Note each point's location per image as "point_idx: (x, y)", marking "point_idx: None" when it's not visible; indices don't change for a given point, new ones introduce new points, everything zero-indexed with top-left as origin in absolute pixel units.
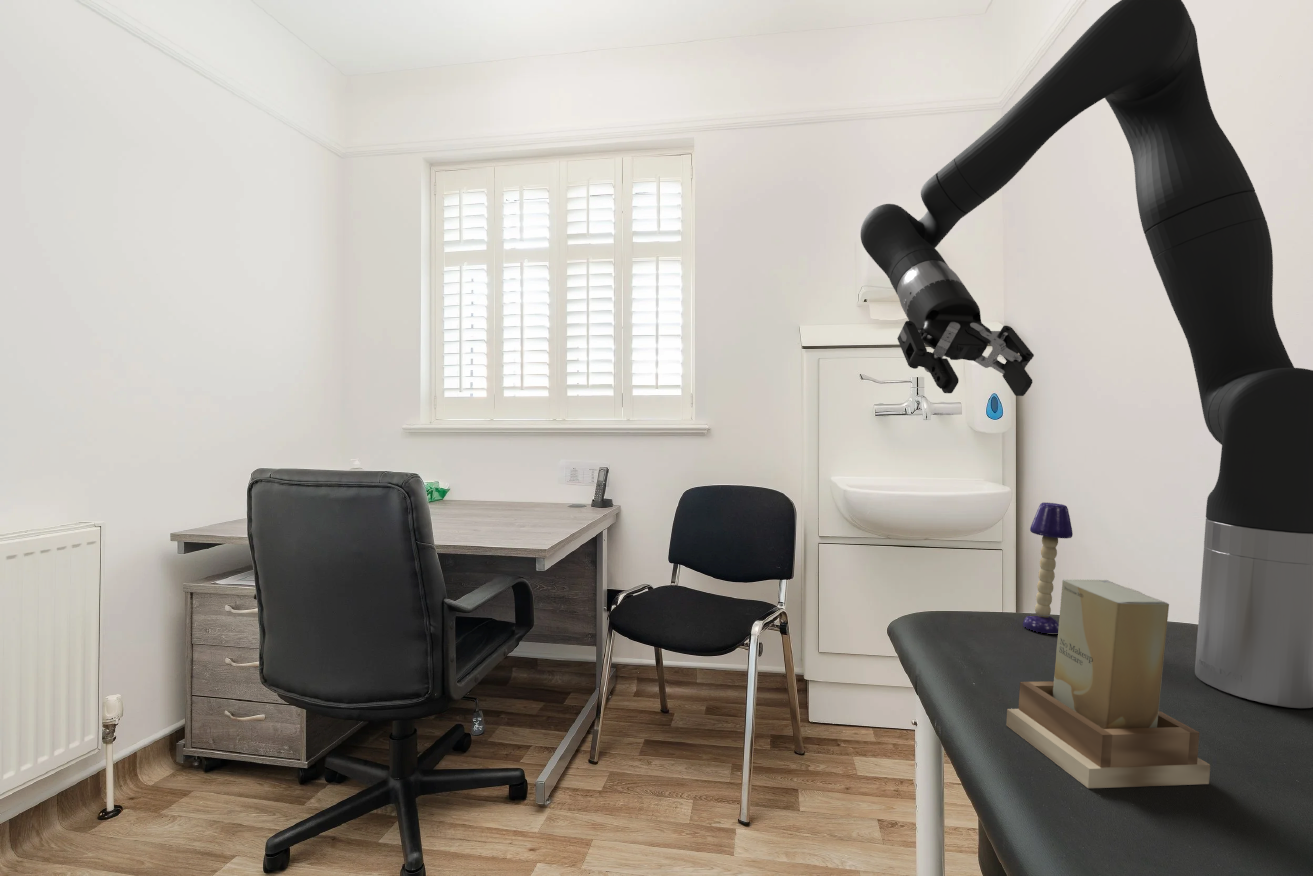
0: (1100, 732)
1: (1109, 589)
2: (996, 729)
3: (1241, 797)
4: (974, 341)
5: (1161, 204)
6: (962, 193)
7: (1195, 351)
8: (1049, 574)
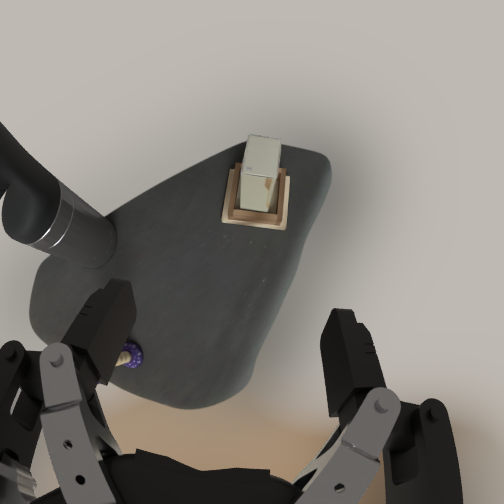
0: (285, 170)
1: (264, 155)
2: (292, 228)
3: (226, 165)
4: (159, 491)
5: None
6: None
7: None
8: None
